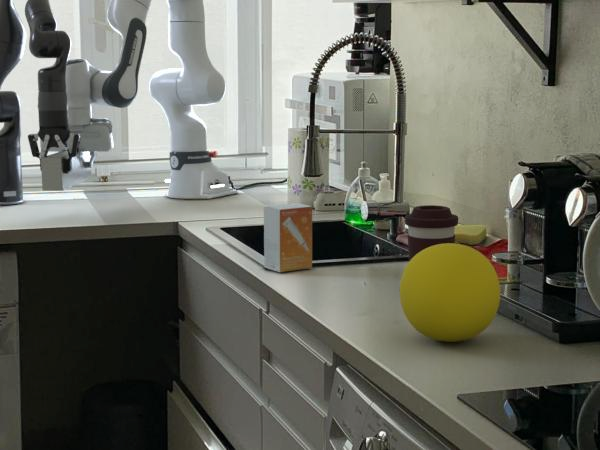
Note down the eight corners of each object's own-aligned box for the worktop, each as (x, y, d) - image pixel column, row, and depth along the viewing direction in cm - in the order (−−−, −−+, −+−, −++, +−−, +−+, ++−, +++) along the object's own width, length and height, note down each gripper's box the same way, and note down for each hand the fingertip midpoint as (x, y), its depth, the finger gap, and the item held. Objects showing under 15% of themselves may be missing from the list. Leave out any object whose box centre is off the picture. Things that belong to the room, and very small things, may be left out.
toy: (466, 322, 171) (468, 232, 169) (517, 346, 157) (519, 249, 155) (383, 332, 166) (383, 239, 164) (428, 358, 152) (429, 257, 150)
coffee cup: (400, 280, 202) (400, 204, 200) (450, 279, 203) (451, 203, 201) (409, 292, 193) (410, 212, 190) (462, 291, 193) (463, 211, 191)
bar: (62, 190, 271) (60, 157, 270) (42, 190, 272) (40, 157, 270) (91, 178, 297) (90, 147, 296) (73, 178, 298) (72, 147, 296)
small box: (280, 273, 210) (279, 209, 208) (263, 267, 216) (262, 205, 213) (313, 268, 215) (312, 205, 213) (296, 263, 220) (295, 202, 218)
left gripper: (84, 107, 275) (87, 171, 278) (31, 107, 276) (34, 171, 279) (75, 109, 267) (78, 175, 270) (21, 109, 269) (24, 174, 272)
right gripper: (115, 117, 293) (117, 166, 295) (44, 117, 295) (46, 166, 297) (109, 118, 287) (111, 169, 289) (36, 119, 289) (39, 168, 291)
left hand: (56, 172), depth 275 cm, fingers closed on bar, 5 cm apart
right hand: (78, 167), depth 293 cm, fingers closed on bar, 5 cm apart
